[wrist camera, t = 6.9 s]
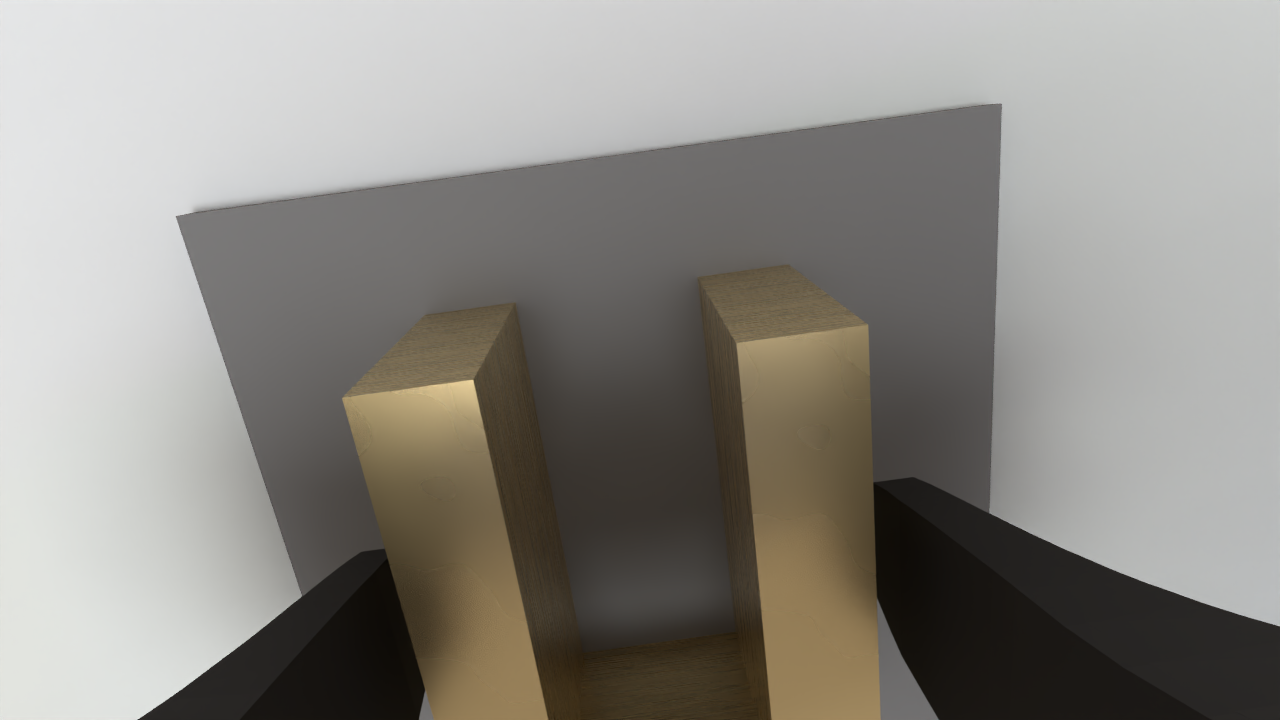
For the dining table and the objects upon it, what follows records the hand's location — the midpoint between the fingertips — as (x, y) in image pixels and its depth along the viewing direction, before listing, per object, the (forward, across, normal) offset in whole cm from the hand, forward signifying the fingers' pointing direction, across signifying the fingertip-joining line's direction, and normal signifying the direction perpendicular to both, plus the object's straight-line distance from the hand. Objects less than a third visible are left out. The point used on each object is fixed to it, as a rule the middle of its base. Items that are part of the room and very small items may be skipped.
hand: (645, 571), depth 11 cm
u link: (+1, 0, 0) cm, 1 cm away
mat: (+2, 0, 0) cm, 2 cm away
